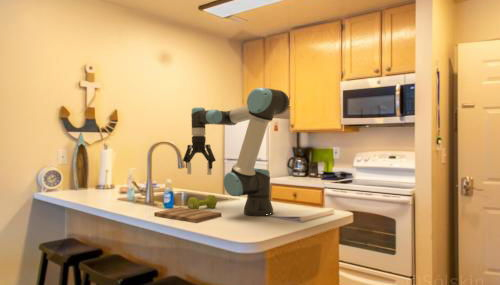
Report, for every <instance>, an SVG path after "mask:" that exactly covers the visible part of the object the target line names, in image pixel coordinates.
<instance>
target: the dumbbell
mask: <svg viewBox="0 0 500 285" xmlns="http://www.w3.org/2000/svg"><path fill="white" fill-rule="evenodd" d="M217 204H218V200H217V198H216V196H215V195H213V194H208V195H207V196H206V197H205V199H203V200H199V198H197V197H189V199H188V201H187V208H190V209H197V210H200V207H203V206H206V208H208V209H214V208H216V205H217Z"/></svg>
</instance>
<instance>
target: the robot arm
mask: <svg viewBox="0 0 500 285" xmlns="http://www.w3.org/2000/svg"><path fill="white" fill-rule="evenodd" d="M246 98H247V99H246V105H244V106H241V107H236V108H234V109H230V110H219V109H213V108H211V109H209V110H206V109H205V107H202V106H201V107H193V108H192V109H191V115H190V116H191V143H192V144H187V148H186V152H185V154H184V157H183V159H182V161H183V162H184V163H185V169H186V174H187V175H192V162H191V161H192V159H193V158H194V157H195V156H196V154H201V155H203V156H204V158H205V159H206V161H207V165H206V166H207V167H206V173H207V174H206V175H207V176H210V175H212V169H213V163H214V162H216V158H215V155H214V153H213V150H212V148H211V144H206V125H218V126H219V125H221V126H222V125H223V126H235V125H237V124H238V123H241V122H246V121H249V122H248V125H247V128H246V130H245V135H244V138H243V141H242V145H241V148H240V151H239V155H238V157H237V161H236V163H235V164H233V165H232V166H231V170H230V171H229V172H227V173H226V174H225V175H224V177H223V187H224V190H225V191H226V193H227V195H229V196H231V197H241V196H247V199H246V201H245V205H244V207H243V213H244V215H247V216H254V217H262V216H263V217H264V216H265V215H266V214H270V213H272V212H273V213H274V207H273V205H272V201H271V196H270V194H271V190H270V189H271V176H270V174H271V173H270V170H269V169H265V168H255V166H256V162H257V160H258V156H259V153H260V149H261V147H262V143H263V140H264V136H265V134H266V130H267V127H268V124H269V123H270V122H272V121H273V119H274V117H275V116H279V115H283V114H284V113H286V112H287V111H288V109H289V107H290V98H289V96H288V95H287V93H286V92H284V91H282V90H279V89H273V88H268V87H256V88H254V89H253V90H251V91H250V92H249V94H248V96H247V97H246ZM266 216H267V215H266Z"/></svg>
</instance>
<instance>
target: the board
mask: <svg viewBox="0 0 500 285" xmlns="http://www.w3.org/2000/svg"><path fill="white" fill-rule="evenodd" d="M153 215H154V217H156V218H157V217H158V218H162V219H163V218H165V219H171V220H176V221H182V222H187V223H195V224H197V223H198V224H199V223H201V222H206V221H209V220H212V219H217V218H220V217H222V212H219V211H210V210H203V209H198V210H197V209H190V208H188V207H187V208H186V207H180V206H178V207H174V208H171V209H165V210H160V211H155V212H154V214H153Z"/></svg>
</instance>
